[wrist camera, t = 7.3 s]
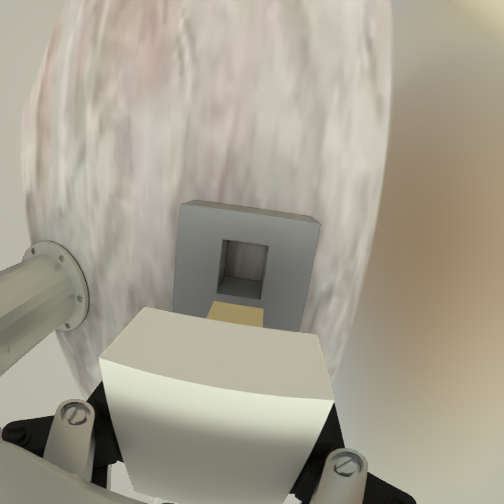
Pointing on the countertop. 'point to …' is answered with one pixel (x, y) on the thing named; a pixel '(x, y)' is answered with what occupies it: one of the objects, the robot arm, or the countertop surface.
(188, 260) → the socket board
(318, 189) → the countertop surface
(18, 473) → the robot arm
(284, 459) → the plug
